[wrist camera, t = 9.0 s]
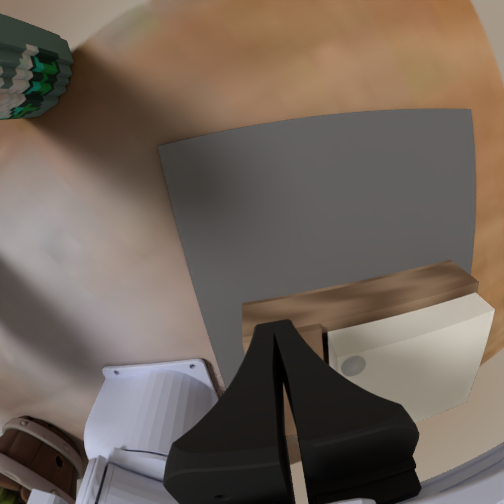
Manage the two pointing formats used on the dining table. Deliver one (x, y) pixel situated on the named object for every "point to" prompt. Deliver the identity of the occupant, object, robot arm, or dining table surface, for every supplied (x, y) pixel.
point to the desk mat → (318, 207)
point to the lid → (417, 354)
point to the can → (31, 69)
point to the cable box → (356, 306)
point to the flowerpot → (37, 462)
